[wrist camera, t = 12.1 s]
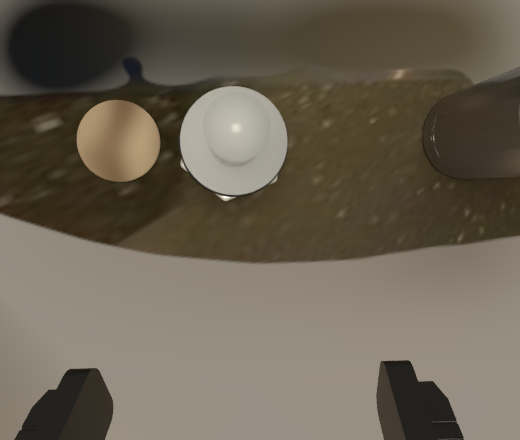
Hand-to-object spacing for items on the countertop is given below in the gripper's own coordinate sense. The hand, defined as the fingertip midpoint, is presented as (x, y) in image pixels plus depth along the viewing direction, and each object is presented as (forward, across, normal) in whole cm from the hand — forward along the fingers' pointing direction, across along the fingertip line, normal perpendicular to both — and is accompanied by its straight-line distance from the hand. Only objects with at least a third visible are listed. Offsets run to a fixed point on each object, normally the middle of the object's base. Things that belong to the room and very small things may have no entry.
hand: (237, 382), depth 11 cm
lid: (+21, +2, +1) cm, 21 cm away
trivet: (+30, +15, +4) cm, 34 cm away
